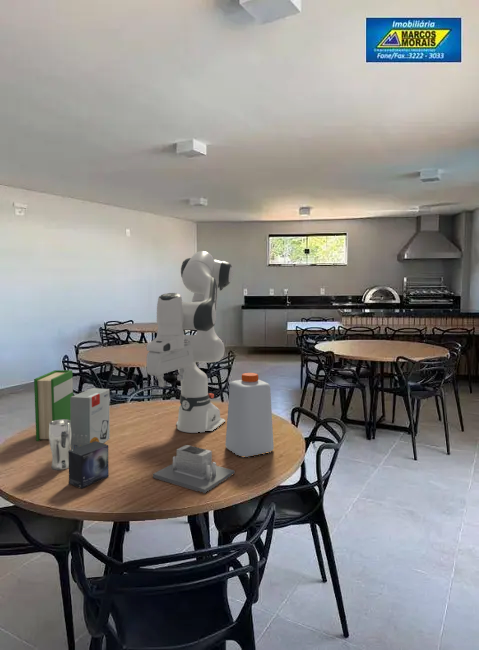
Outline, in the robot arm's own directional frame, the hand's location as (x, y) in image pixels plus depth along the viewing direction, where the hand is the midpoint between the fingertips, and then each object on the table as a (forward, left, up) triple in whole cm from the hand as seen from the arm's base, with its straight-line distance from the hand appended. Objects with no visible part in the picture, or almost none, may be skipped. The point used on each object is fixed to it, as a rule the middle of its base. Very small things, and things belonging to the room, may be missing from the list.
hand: (171, 383), depth 153 cm
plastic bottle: (-23, +17, -27) cm, 40 cm away
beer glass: (+24, -27, -27) cm, 45 cm away
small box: (+26, -11, -27) cm, 39 cm away
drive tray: (+6, +14, -27) cm, 31 cm away
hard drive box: (+5, -35, -27) cm, 45 cm away
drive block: (+6, +14, -26) cm, 30 cm away
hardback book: (+4, -57, -27) cm, 64 cm away
